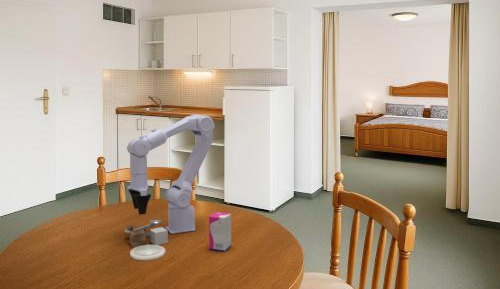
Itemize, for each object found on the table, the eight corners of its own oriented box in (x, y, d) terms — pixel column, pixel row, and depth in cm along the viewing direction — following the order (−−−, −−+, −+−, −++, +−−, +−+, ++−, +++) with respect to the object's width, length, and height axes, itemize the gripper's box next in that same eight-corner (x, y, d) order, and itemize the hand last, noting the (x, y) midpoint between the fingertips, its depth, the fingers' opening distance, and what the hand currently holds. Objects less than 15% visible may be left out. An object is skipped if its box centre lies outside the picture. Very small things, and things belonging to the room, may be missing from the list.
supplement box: (231, 246, 152) (231, 213, 151) (225, 252, 147) (224, 218, 145) (215, 244, 154) (215, 211, 153) (208, 250, 149) (208, 216, 147)
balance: (160, 232, 166) (159, 219, 165) (162, 235, 162) (162, 222, 162) (123, 237, 160) (123, 223, 160) (126, 240, 157) (125, 227, 156)
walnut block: (142, 241, 156) (142, 229, 156) (146, 245, 152) (145, 232, 152) (129, 243, 155) (129, 230, 154) (132, 247, 151) (132, 234, 150)
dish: (160, 245, 152) (160, 242, 152) (169, 257, 143) (169, 253, 142) (126, 250, 148) (126, 247, 147) (134, 262, 138) (133, 259, 138)
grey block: (162, 239, 159) (161, 227, 158) (167, 243, 155) (167, 230, 155) (150, 241, 156) (149, 229, 156) (155, 245, 153) (155, 232, 152)
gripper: (123, 170, 162) (124, 207, 164) (131, 178, 149) (132, 218, 151) (142, 168, 165) (143, 205, 167) (152, 176, 153) (153, 215, 154)
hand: (139, 211), depth 160 cm, fingers open, 7 cm apart
